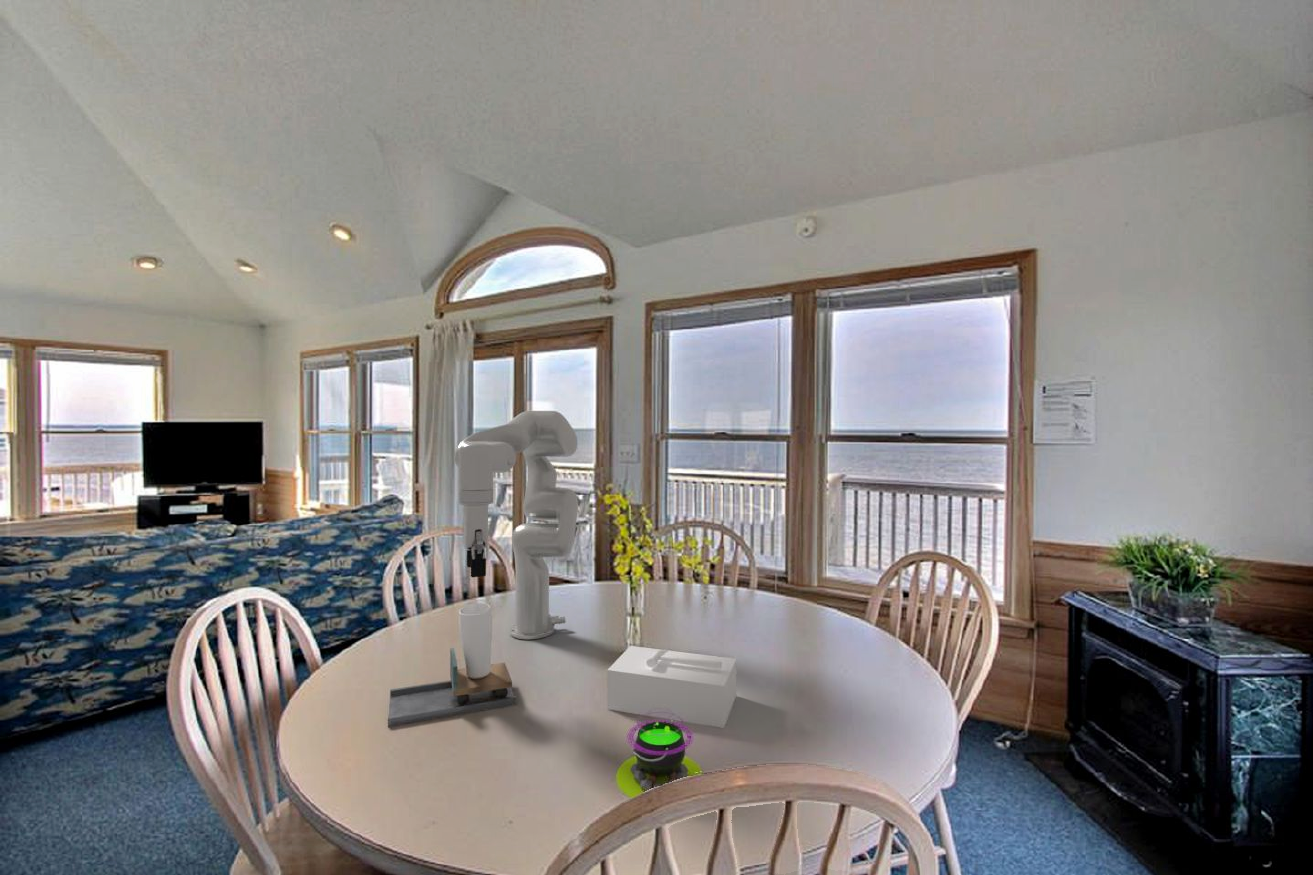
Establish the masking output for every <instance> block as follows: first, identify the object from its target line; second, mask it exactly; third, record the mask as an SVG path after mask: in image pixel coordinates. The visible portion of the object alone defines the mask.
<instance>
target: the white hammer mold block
mask: <svg viewBox="0 0 1313 875" xmlns="http://www.w3.org/2000/svg"><path fill="white" fill-rule="evenodd" d="M606 681H607V682H606V683H607V684H606V689H607V690H606V700H607V701H606V709H607V710H611V711H615V712H623V713H630V714H636V715H641V716H647V717H649V716H650V717H653V718H658V719H663V718H664V719H665V720H673V721H680V722H681V719H682V720H683V721H682V722H683V723H684V722H685V723H692V724H697V725H704V726H709V727H710V726H711V727H716V728H717V727H718V728H722V729H723V728H725V727H726V724H727V721H728V719H729V716H730V713H731V710H732V708H733V706H734V703H735V699H736V697H737V658H733V657H725V656H715V655H707V654H698V653H694V652H693V653H691V652H685V651H684V652H683V651H675V650H669V649H659V648H651V647H642V646H634V645H630V646H629V647H628V648H627V649H626V650H625V651H624V652H623V653H622V654H621V655H620V656H619V657H618V658H617V659H616V660H615V661H614V662H613V663H612V665H611V666H609V668H608V669H607V670H606ZM658 707H662V709H658ZM666 709H667V710H666ZM669 709H670V710H669ZM649 710H650V711H649ZM668 710H669V711H668ZM648 711H649V712H648ZM651 712H652V713H651ZM656 712H661V713H656ZM664 712H665V713H664ZM667 712H668V713H667ZM670 712H671V713H672V712H673V713H672V714H675V715H676V716H675V715H670V714H671V713H670ZM648 713H651V714H648ZM645 714H647V715H645ZM648 715H649V716H648ZM670 716H672V717H670ZM678 716H679V718H680V719H679V718H678Z"/></svg>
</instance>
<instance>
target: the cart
mask: <svg viewBox="0 0 1313 875" xmlns="http://www.w3.org/2000/svg"><path fill="white" fill-rule="evenodd" d="M449 651H450V652H449V655H450V658H449V660H450V662H449V664H450V668H449V669H450V671H449V672H450V674H449V675H450V680H451V684H452V690H453V696H457V702H458V704H460V705H463V704H467V703H468V701H469V695H468V694H472V693H478V692H484V691H490V690H496V695H497V697H498V698H505V697H506V696H507V694H508V690H507V688H509V687H511V688H512V687H513V680H512V677H511V675H510V672H509V671H508V668H507V665H506V662H499V663H491V672H490V673H489V674H488V675H487V676H485V677H483V678H478V679H473V678H470V677H468V676H467V674H466V667H464V668H458V662H457V657H456V656H457V655H456V651H455V647H452V648H451V647H450V649H449Z"/></svg>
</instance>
